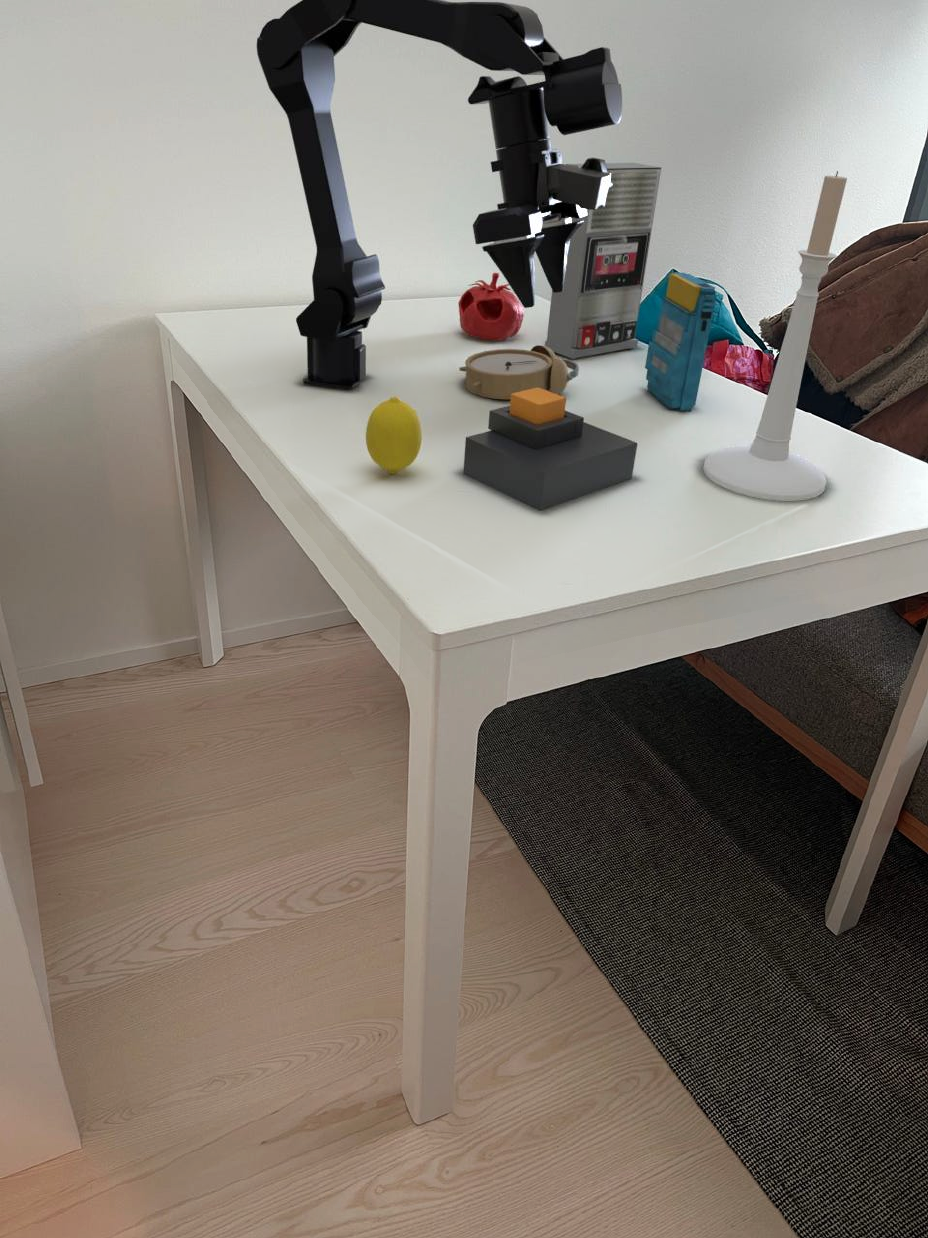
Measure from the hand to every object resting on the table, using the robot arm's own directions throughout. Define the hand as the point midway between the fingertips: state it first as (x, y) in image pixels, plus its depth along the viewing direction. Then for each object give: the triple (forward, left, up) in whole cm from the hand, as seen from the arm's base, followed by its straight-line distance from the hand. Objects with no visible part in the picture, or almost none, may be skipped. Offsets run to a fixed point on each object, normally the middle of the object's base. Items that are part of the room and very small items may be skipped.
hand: (544, 299), depth 105 cm
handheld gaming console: (+15, +16, -14) cm, 26 cm away
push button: (+4, -16, -14) cm, 22 cm away
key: (+2, -14, -9) cm, 17 cm away
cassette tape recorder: (+3, +36, -14) cm, 39 cm away
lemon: (-11, -21, -14) cm, 28 cm away
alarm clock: (-4, +13, -14) cm, 20 cm away
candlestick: (+26, -7, -14) cm, 31 cm away
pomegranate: (-13, +37, -14) cm, 41 cm away
